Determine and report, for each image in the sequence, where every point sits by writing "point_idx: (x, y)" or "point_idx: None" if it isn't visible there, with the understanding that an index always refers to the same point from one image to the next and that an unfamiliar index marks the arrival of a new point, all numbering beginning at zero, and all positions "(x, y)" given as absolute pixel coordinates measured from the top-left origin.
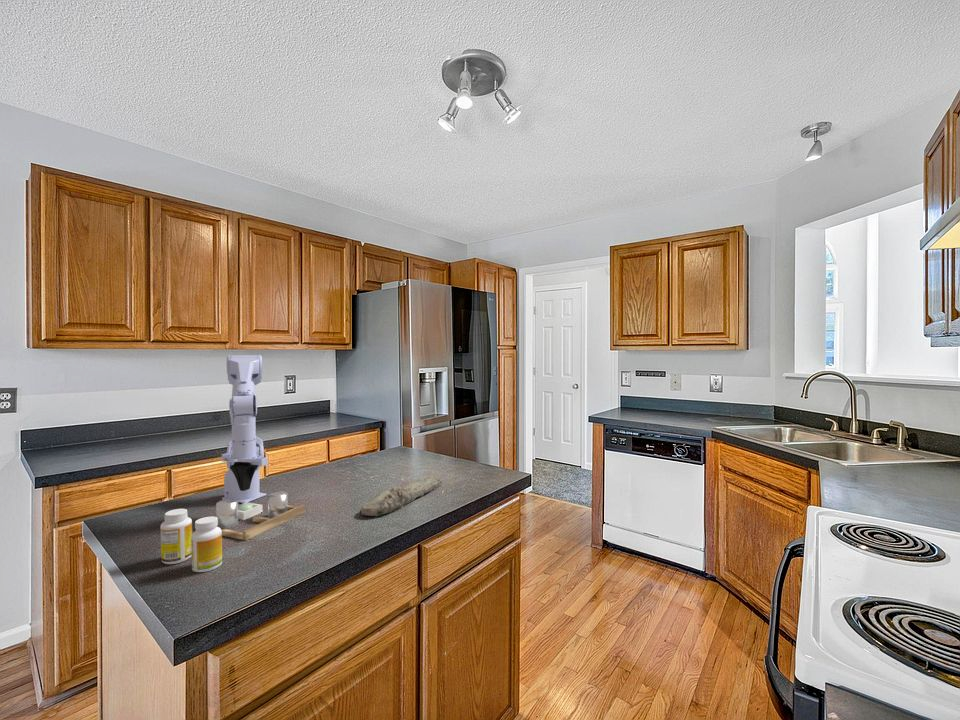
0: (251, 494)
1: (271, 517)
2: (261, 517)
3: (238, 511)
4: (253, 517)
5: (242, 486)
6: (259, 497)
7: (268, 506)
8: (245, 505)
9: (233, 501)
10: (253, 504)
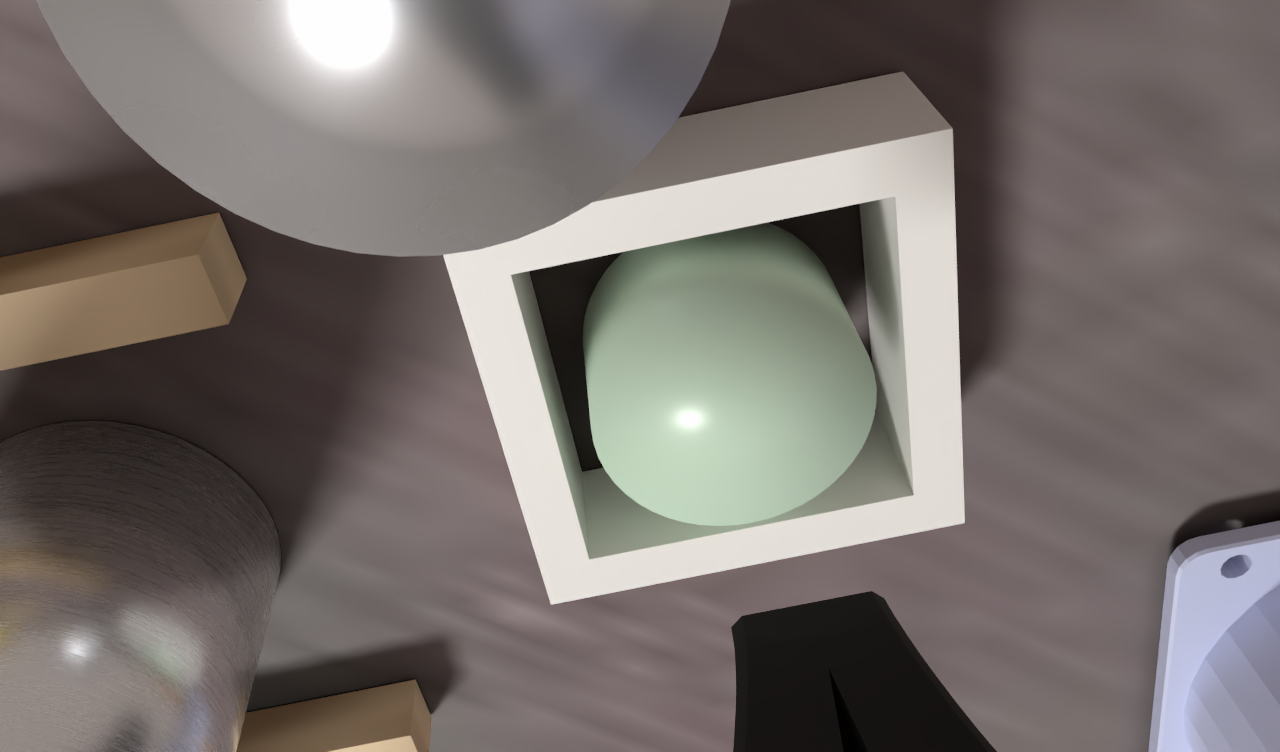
0: (1235, 720)
1: (21, 455)
2: (22, 335)
3: (602, 203)
4: (169, 257)
5: (747, 712)
6: (1150, 740)
7: (41, 584)
8: (730, 420)
9: (265, 94)
10: (722, 536)
